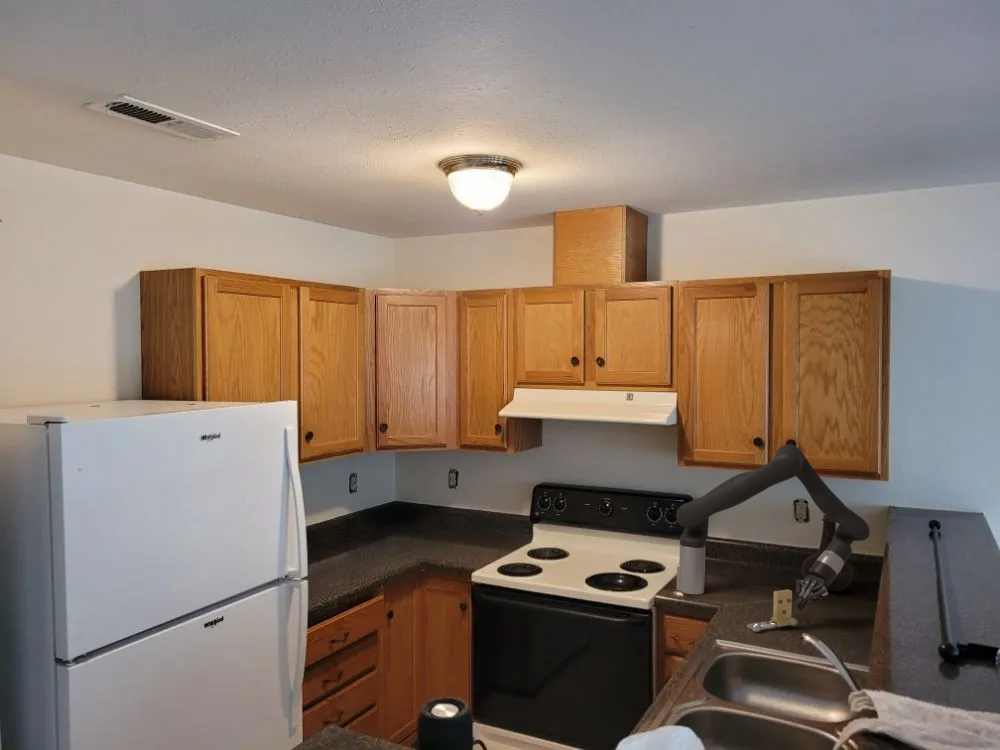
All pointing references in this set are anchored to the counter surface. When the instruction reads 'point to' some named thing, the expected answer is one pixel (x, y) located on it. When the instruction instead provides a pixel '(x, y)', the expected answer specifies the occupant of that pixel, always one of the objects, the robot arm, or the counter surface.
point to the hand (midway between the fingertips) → (797, 608)
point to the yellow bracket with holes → (782, 608)
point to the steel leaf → (767, 625)
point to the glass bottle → (827, 535)
